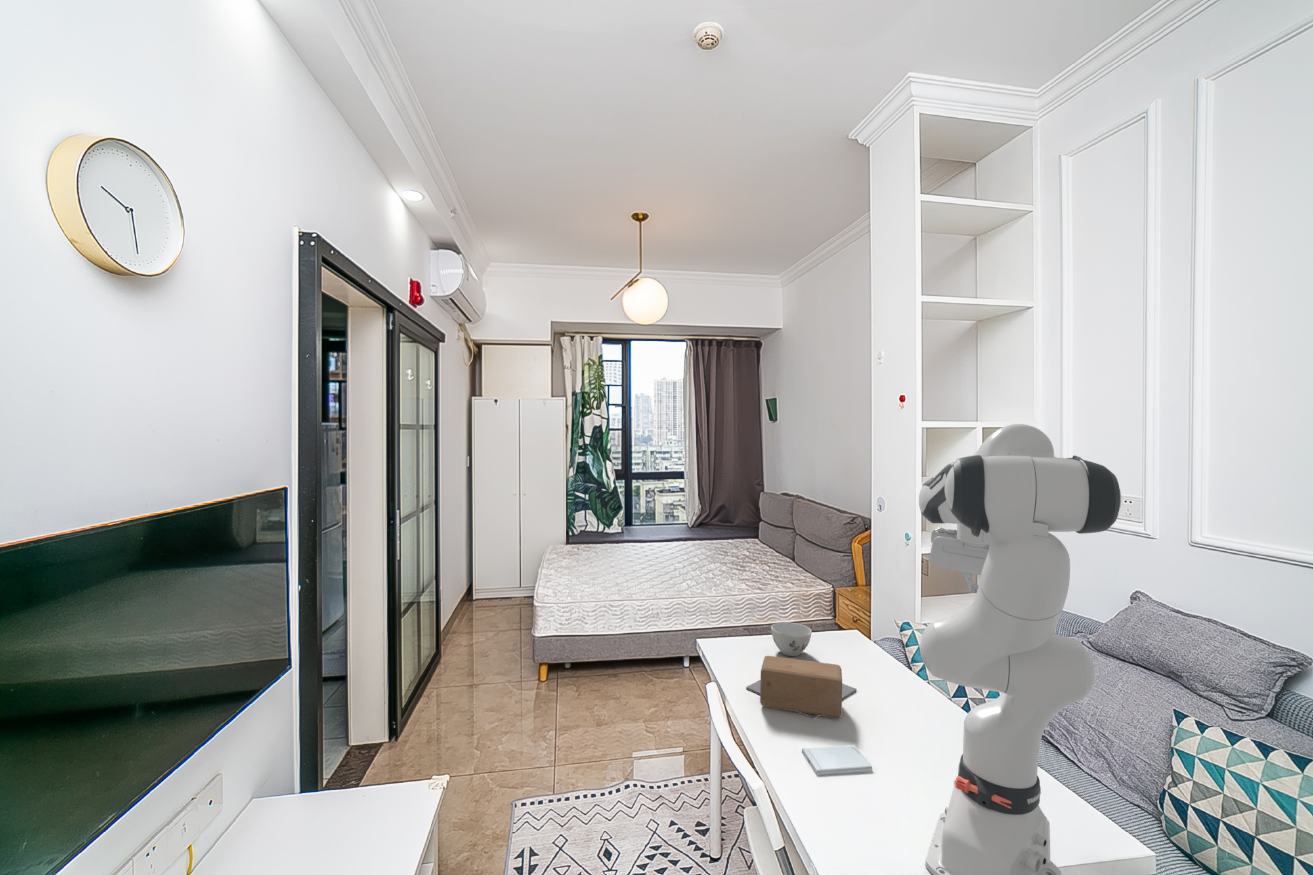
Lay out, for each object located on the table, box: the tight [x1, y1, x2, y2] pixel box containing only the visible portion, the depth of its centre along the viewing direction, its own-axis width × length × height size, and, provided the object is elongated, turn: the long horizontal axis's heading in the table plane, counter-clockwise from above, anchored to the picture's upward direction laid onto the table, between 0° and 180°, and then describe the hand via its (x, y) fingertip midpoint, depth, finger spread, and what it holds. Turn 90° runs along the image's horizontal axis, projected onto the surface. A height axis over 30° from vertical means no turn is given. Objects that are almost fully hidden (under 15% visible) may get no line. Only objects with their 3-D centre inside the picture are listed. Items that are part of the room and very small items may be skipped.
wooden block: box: [759, 655, 843, 719], centre depth 146 cm, size 10×10×20 cm
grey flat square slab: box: [745, 679, 858, 719], centre depth 156 cm, size 22×21×1 cm
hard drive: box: [801, 744, 873, 776], centre depth 123 cm, size 2×8×12 cm
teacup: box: [770, 621, 812, 657], centre depth 181 cm, size 15×12×8 cm
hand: (976, 593), depth 129 cm, fingers closed
